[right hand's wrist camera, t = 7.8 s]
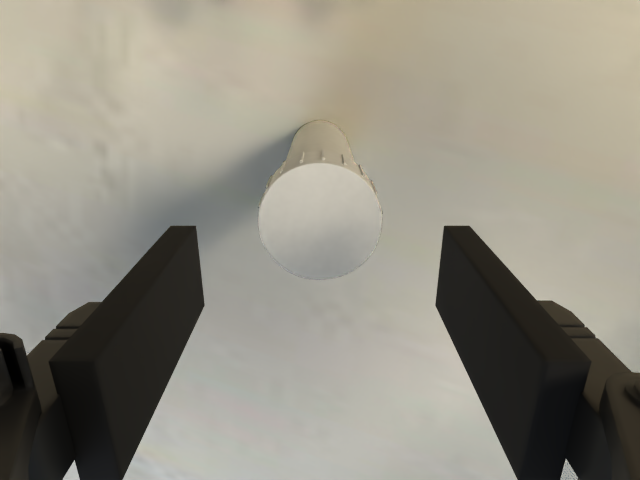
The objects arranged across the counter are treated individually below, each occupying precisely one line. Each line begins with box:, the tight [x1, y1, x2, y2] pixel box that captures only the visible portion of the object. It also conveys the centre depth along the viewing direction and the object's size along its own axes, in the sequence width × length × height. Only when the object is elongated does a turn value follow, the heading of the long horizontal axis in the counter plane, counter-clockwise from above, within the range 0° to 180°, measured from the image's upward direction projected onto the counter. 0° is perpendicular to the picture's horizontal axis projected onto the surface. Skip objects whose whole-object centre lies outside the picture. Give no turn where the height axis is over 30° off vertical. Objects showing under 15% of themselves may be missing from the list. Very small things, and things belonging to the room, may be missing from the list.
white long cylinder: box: [286, 120, 354, 162], centre depth 25 cm, size 4×4×16 cm
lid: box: [258, 149, 383, 280], centre depth 19 cm, size 5×5×2 cm
